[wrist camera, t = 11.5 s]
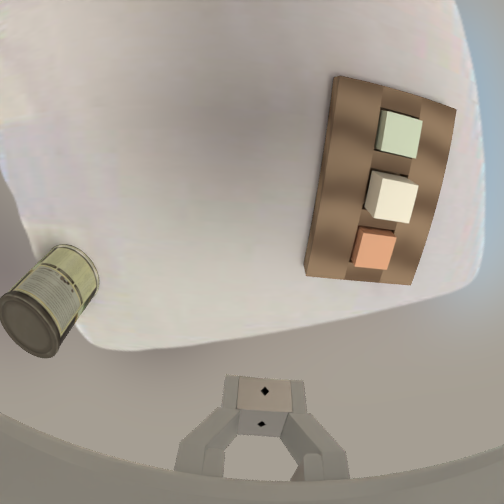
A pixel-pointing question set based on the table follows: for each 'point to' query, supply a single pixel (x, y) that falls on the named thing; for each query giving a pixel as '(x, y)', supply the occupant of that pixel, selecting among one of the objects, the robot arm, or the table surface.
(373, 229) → the key terracotta
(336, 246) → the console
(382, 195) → the cream cube
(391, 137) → the key sage
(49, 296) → the coffee can
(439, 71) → the table surface
